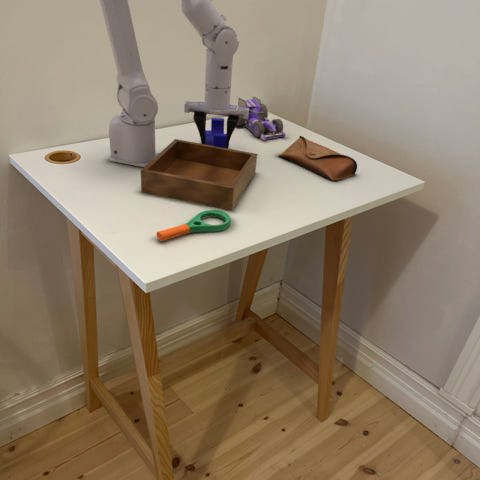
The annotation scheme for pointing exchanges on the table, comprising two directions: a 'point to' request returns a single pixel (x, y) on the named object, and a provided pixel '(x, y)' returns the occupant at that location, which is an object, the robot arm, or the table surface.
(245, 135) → the table surface
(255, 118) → the toy race car
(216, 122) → the cable clip
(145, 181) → the crate
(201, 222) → the magnifying glass
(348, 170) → the sunglasses case
